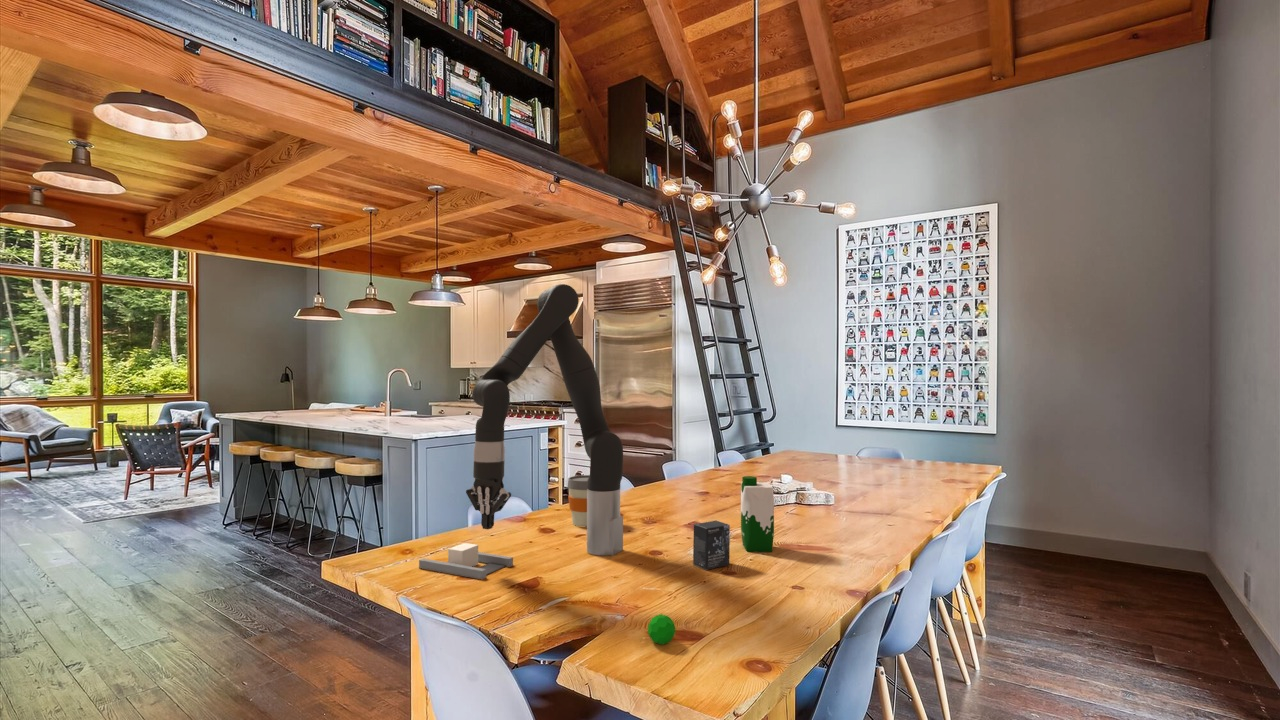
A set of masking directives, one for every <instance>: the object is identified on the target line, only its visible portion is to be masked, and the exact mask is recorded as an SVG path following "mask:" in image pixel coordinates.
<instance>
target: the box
mask: <svg viewBox="0 0 1280 720" xmlns="http://www.w3.org/2000/svg"><path fill="white" fill-rule="evenodd" d="M730 527H731V525H730V524H728V523H725V522H722V521H720V520H719V521H718V520H712V521H710V520H709V521H706V522H700V523H693V540H692V542H693V550H692V551H693V552H692V553H693V554H692V555H693V556H692V559H693V560H692V564H693V566H696V567H698V568H701V569H702V570H705V571H708V570H713V569H716V568H720V567H726V566H727V567H728V566H730V557H731V555H730V549H731V548H730V545H731V544H730V540H731V537H730V536H731V535H730V533H731V532H730V530H731V529H730Z"/></svg>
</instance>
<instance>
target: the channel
mask: <svg viewBox="0 0 1280 720" xmlns="http://www.w3.org/2000/svg"><path fill="white" fill-rule="evenodd" d="M478 563H484V565H482V566H479V567H475V566H473V567H470V566H465V565H459V564H453V563H448V561H447V562H446V561H440V560H435V559H429V558H422V559H418V568H419V569H421V568H422V570H426V571H427V570H428V571H432V572H437V573H444V574H449V575H450V574H451V575H455V576H460V577H461V576H462V577H465V578H466V577H467V578H473V579H478V580H484V579H486V578H487V576H489V575H490V574H493V573H495V572H497V571H499V570H502V569H504V568H505V567H508V568H510V567H512V566H513V565H514V557H513V556H507V555H501V554H494V553H487V552H480V551H478Z"/></svg>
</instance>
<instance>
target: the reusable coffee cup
mask: <svg viewBox="0 0 1280 720" xmlns="http://www.w3.org/2000/svg"><path fill="white" fill-rule="evenodd" d="M589 476H590V474H588V475H587V474H585V475H583V474H582V475H574V476H569V477H568V479H567V486H566V487H567V488H568V498H567V499H568V505H569V511H570V512H571V519H572V525H573V526H574V525H576V526H575V527H577V526H585V527H584V528H587V527H586V526H587V480H588V478H589Z"/></svg>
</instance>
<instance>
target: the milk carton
mask: <svg viewBox="0 0 1280 720" xmlns="http://www.w3.org/2000/svg"><path fill="white" fill-rule="evenodd" d="M757 480H758V478H757V476H750V475H747V476H742V482H741V483H740V532H741V542H742V546H743V548H744V550H745V551H747V553H751V552H752V553H772V552H773V547H774V536H775V497H774V495H775V494H774V487H773V486H772V485H771V483H769V482H759V481H757Z"/></svg>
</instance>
